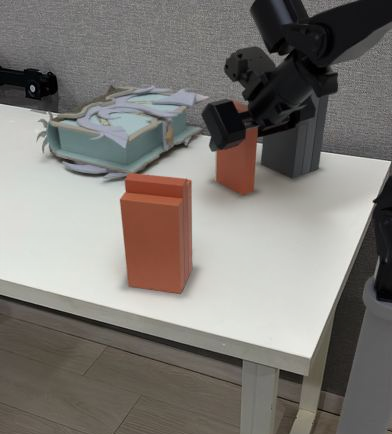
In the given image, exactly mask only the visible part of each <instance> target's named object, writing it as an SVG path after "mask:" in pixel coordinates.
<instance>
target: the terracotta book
mask: <svg viewBox="0 0 392 434" xmlns="http://www.w3.org/2000/svg"><path fill="white" fill-rule="evenodd" d="M227 99H229V100H232V101H233V103H234V105H235V107H236V109H237V111H238V113H241V112H245V111H248V104H244V103H242V102H239V101H236V100H233V99H231V98H227ZM250 122H251V121H250ZM246 123H247V122H246ZM257 135H258V127H255V128H252V129H248V130H246V139H244V140H243V141H242V142H241V143H239V145H238V146H236V147H233V148H229V149H226V150H219V151H214V152H215V153H214V154H215V155H214V156H215V157H214V182H216V183H218V184H221V186H222V185H223V186H224V187H226V188H228V189H230V190H232V191H234V192H235V193H238V194H239V195H241V196H246V195H248V194H250V193H253V192H254V191H255V177H256V164H257V163H256V162H257V149H258V148H257V147H258V138H257Z"/></svg>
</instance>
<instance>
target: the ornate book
mask: <svg viewBox="0 0 392 434" xmlns="http://www.w3.org/2000/svg"><path fill="white" fill-rule="evenodd" d="M142 86H143V87H146V86H148V87H147V88H140V87H142ZM140 87H135V86H118V87H117V88H115V87H114V85H113V84H110V85H109V86H108V88H107V90H106V92H105V94H102V95H98V96H96V97H94V98H93V99H92V100H91V101H86V102H83V103H81V104H79V105H78V106H76V107H75V108H73V109H71V110H69V111H66V112H62V113H58V114H57V115H56V117H54V116H53V113H52V112H51V111H50V110H47V113H48V116H49V120H48V121H47V120H46V119H45V118H41V119H39V120H37V123H42V124H43V128H44V129H45V130H42V131H40V132H39V133H38V135H37V136H36V142H35V143H37V142H38V140H39V139H40V138H44V140H43V142H42V146H41V151H42V153H43V155H45V147H46V146H47V145H48V149H49V152H50V154H51V155H53V156H56V158H57V157H58V158H61V159H66V160H70V161H72V162H73V163H69V162H67V161H64V160H62V161H61V162H62V164H63V165H64V166H65V167H66V168H68V169H70V170H72V171H76V172H80V173H86V174H104V175H103V176H102V177H103V179H113V178H122V177H127V176H128V175H129V173H135V174H137V173H139V172H141V171H143V170H145V169H146V168H147V165H148V164H150V163H152V162H153V161H155V160H157V159H159V158H160V155H161V154H162V153H165V152H167V151H168V150H170V149H173V148H174V146H177V145H181V144H183V145H184V146H186V147H187V146H188V145H189V142H190V140H191V138H192V137H193V136H194V135H196V134H197V133H199V132H201V131H202V130H203V127H200V126H194V125H189V124H187V110H188V109H193V107H194V106H196V105H197V104H198V105H199V104H200V103H201V102H203V100H207V99H209V96H207V95H202V94H199V93H196V92H192V88H191V87H186V88H181V89H179V90H177V92H175V93H171V92H173V89H172V88H164V87H163V88H161V87H160V88H158V87H156V85H155V84H140Z"/></svg>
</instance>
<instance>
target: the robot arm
mask: <svg viewBox="0 0 392 434" xmlns="http://www.w3.org/2000/svg"><path fill="white" fill-rule="evenodd" d="M305 7H306V6H305V5H304V2H303V1H302V0H254V1H253V2H252V4H251V6H250V8H249V13H250V16H251V19H252V20H253V22H254V24H255V27H256V29H257V31H258V33H259V35H260V37H261V40H262V41H263V44H264V46H265V48H266V51H267V52H268V54H269V55H271V54H277V55H278V56H279V57H282V56H283V57H284V56H285V57H284V59H283V60H281V62H280V63H278V65H277V64H276V63H275V61H273V59H271V58H270V56H269V55H268V54H267V53H266V52H265V50H263V48H261V47H260V46H256V45H255V46H249V47H244V48H239V49H237V50H235V52H231V53H230V56H229V57H227V58H226V59H225V63H224V66H223V71H224V74H225V75H226V76H227V77H228V79H229V80H230V81H231V82H232V83H236V82H238V83H239V84H240V85H241V86H242V88H244V89H243V91H242V92H241V93H240V94H241V96H242V98H243V100H244V101H245V102H247V106H248V111H245V112H241V113H238V111H237V109H236V107H235V105H234V103H233V101H232V100H233V99H231V100H229V99H230V98H229V99H228V98H223V99H219V100H215V101H211V102H208V103H207V104H206V106H204V108H203V109H202V111H201V114H200V116H201V118H202V120H203V122H204V124H205V126H206V129H207V130H208V132H209V135H210V139H209V144H208V148H209V150H210V152H212V153H214V152H215V151H219V150H226V149H229V148H233V147H236V146H238V145H239V143H241V142H242V141H243V140H244V139H246V130H248V129H252V128H255V127H258V135H257V139H259V138H263V136H267V135H271V134H275V133H278V132H283V131H286V130H290V129H293V128H296V127H299V126H301V125H304V124H307V123H309V122H310V121H311V120H312V119H313V118H314V117H315V111H316V108H315V105H314V103H313V101H312V99H311V97H310V95H311V94H312V93H313V92H315V94H316V97H317V98H321V97H324V96H328V95H329V96H331V95H334V94H335V95H336V94H337V93H338V92H339V81H338V78H339V73H338V72H337V71H335V70H333V69H332V66H333V65H338V64H342V63H346V62H350V61H353V60H354V61H355V60H357V59H360V58H361V57H363V56H364V55H365V54H366V53H368V52H369V51H370V50H371V49H372V48H374V47H375V46H376V45H377V44H379V43H380V41H381V40H382V39H383V37H384V36H385V35H386V34H387V33H388V32H389V31H391V30H392V0H354V1H350V2H347V3H344V4H341V5H338V6H334V7H331V8H328V9H327V10H323V11H321V12H319V13H318V12H317V13H316V14H313V16H309V13H308V12H307V9H306V8H305ZM276 65H277V66H276ZM250 121H251V122H250ZM246 122H247V123H246ZM372 203H373V204H376V205H375V206H374V207H373V209H372V213H371V220H372V221H373V227H374V236H375V246H376V247H375V249H376V255H377V256H378V259H377V262H376V266H375V270H374V274H373V275H374V279H373V288H374V289H376V300H377V301H381V302H389V303H392V175H389V177H388V178H387V179H386V181H385V183H384V185H383V187H382V190H381V192H380V194H379V195H378V196H377V197H375V198H374V199H372Z"/></svg>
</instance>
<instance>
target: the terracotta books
mask: <svg viewBox="0 0 392 434" xmlns="http://www.w3.org/2000/svg"><path fill="white" fill-rule="evenodd" d="M192 184H193V183H192V179H187V178H183V177H174V176H163V175H154V174H143V173H129V175H128V176H125V178H124V190H125V192H124V193H123V195H122V196H120V198H119V206H120V215H121V226H122V235H123V246H124V257H125V265H126V275H127V276H126V277H127V285H128V287H131V288H138V289H146V290H152V291H159V292H166V293H173V294H180V295H181V294H182V292H183V290H184V288H185V286H186V284H187V282H188V279H189V277H190V275H191V273H192V271H193V193H192V192H193V188H192Z"/></svg>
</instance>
